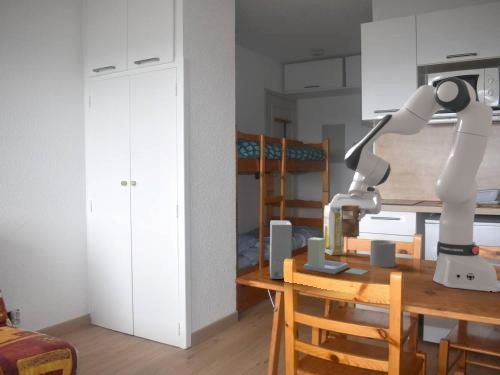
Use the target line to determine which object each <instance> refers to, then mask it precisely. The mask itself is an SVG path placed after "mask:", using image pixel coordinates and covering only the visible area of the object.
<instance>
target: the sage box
mask: <svg viewBox="0 0 500 375" xmlns="http://www.w3.org/2000/svg"><path fill="white" fill-rule="evenodd" d="M325 254H326V253H325V238H324V237H315V236H314V237H310V238H307V263H308V265H311V266H318V267H325V260H326V257H325V256H326V255H325Z"/></svg>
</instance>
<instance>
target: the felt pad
mask: <svg viewBox="0 0 500 375" xmlns="http://www.w3.org/2000/svg"><path fill="white" fill-rule="evenodd" d="M368 272H369V270H367V269H360V268H354V267H352V268H350V269H348V270H346V271H345V270H344V273H345V274H354V275H359V276H363V275H364V274H366V273H368Z"/></svg>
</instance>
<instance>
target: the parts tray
mask: <svg viewBox="0 0 500 375" xmlns="http://www.w3.org/2000/svg"><path fill="white" fill-rule="evenodd" d="M348 268H349V263H347V262H340V261H334V260H333V261H331V260H327V259H325V267H318V266H311V265H308V262H307V263H305V264H303V270H307V271H314V272H321V273H327V274H333V275H335V274H338V273H339V272H341V271H345V270H346V269H348Z"/></svg>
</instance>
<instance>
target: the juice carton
mask: <svg viewBox="0 0 500 375" xmlns="http://www.w3.org/2000/svg"><path fill="white" fill-rule="evenodd" d="M330 203H331V202H330ZM330 203H328V204H327V205H324V210H323V238H325V254H327V255H330V256H343V255H344V249H345V245H344V244H345V237H342V221H341V220H340V216H341V214H340V213H333V212H332V211H331V209H330V207H329V206H330Z"/></svg>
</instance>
